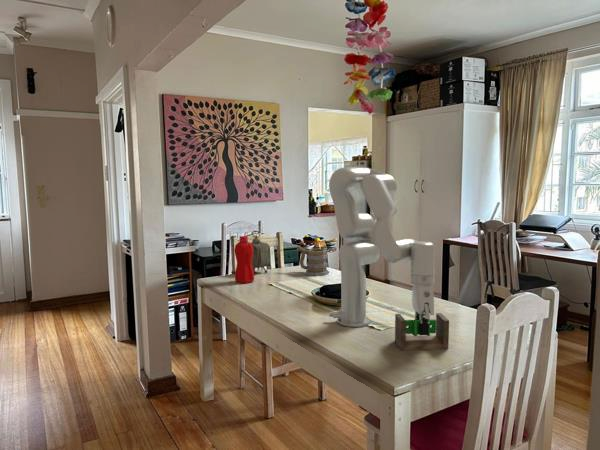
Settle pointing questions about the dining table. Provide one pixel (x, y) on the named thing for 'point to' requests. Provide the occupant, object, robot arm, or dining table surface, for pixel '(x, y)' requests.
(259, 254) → the grey bag
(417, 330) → the pipe clamp
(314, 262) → the tankard
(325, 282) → the dining table surface
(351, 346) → the dining table surface
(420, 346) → the bracket
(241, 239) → the water bottle
